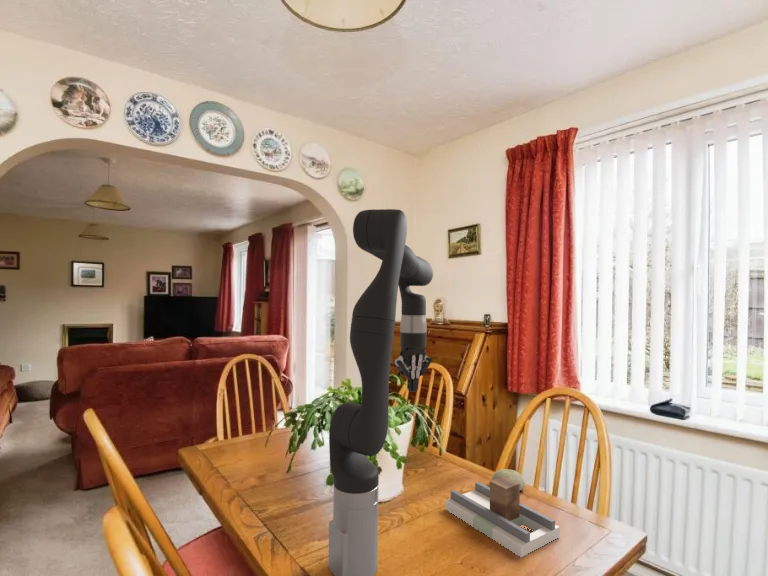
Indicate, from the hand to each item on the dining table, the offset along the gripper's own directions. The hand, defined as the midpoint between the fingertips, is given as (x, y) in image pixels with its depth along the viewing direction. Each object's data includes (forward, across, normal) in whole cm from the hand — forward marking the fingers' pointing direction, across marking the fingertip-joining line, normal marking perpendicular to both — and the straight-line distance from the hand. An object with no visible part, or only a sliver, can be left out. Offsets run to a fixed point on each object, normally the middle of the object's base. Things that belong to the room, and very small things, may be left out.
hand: (412, 391), depth 119 cm
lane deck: (+29, +9, -24) cm, 39 cm away
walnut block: (+26, +9, -26) cm, 38 cm away
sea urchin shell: (+29, +27, -12) cm, 42 cm away
